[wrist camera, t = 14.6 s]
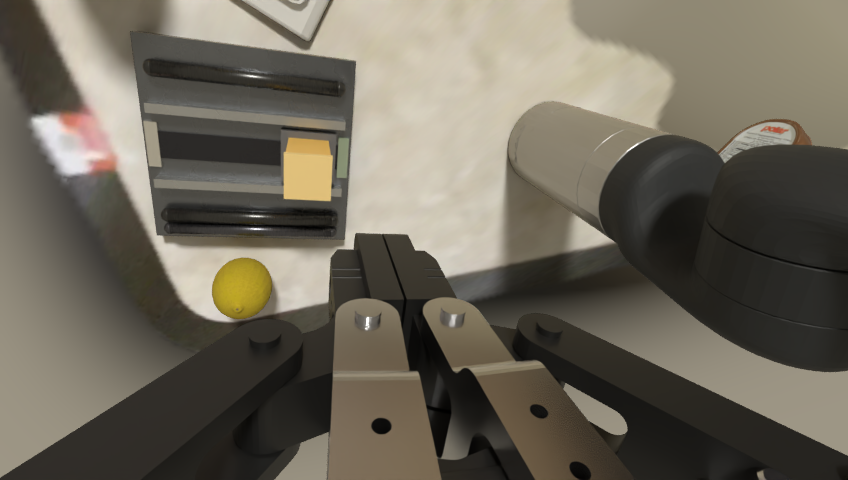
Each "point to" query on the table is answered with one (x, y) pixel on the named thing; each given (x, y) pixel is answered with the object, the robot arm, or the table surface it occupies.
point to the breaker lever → (307, 164)
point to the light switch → (293, 14)
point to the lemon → (241, 288)
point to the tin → (765, 137)
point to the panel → (238, 135)
